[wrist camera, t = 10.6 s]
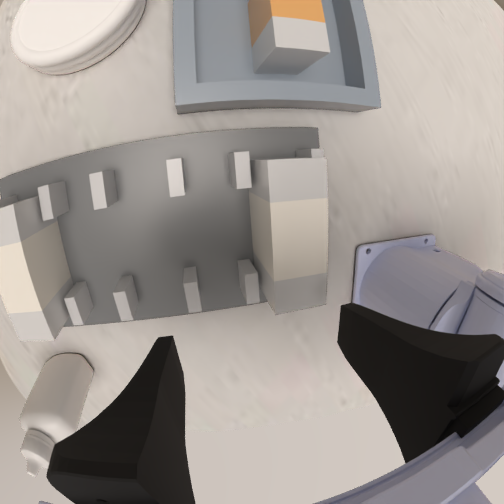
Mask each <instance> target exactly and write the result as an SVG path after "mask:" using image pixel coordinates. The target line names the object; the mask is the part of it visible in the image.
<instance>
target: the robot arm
mask: <svg viewBox="0 0 504 504" xmlns="http://www.w3.org/2000/svg"><path fill="white" fill-rule="evenodd" d="M435 240H436V238H435V236H434V235H433V234H428V235H422V236H416V237H409V238H403V239H397V240H390V241H384V242H378V243H371V244H365V245H360V246H359V247H358V248H357V250H356V264H355V278H354V290H353V301H352V303H349V304H345V305H341V311H340V322H339V332H338V341H337V343H338V345H339V347H340V349H341V350H342V352H343V354H344V356H345V358H346V359H347V361H348V362H349V364H350V365H351V366H352V368H353V369H354V370H355V372H356V373H357V374H358V376H359V377H360V378H361V380H362V381H363V382H364V383H365V385H366V386H367V387H368V389H369V390H370V391H371V393H372V394H373V396H374V397H375V399H376V400H377V402H378V404H379V406H380V407H381V409H382V411H383V413H384V414H385V416H386V418H387V420H388V422H389V424H390V426H391V428H392V431H393V433H394V435H395V437H396V440H397V442H398V444H399V447H400V449H401V452H402V455H403V457H404V460H405V463H406V464H404V465H403V466H401V467H399V468H397V469H395V470H394V471H391V472H390V473H387V474H385V475H384V476H381V477H379V478H377V479H375V480H373V481H371V482H369V483H367V484H364V485H362V486H360V487H357V488H355V489H353V490H350V491H347V492H345V493H342V494H340V495H337V496H334V497H332V498H329V499H326V500H323V501H320V502H317V503H314V504H491V503H490V501H489V500H488V499H487V498H486V496H485V495H484V494H483V492H482V491H481V490H480V489H479V487H478V486H477V485H476V484H475V482H476V481H477V480H478V479H479V478H480V477H481V476H482V475H484V474H485V473H486V472H487V471H488V470H489V469H490V468H491V467H492V466H493V465H494V464H495V463H496V462H497V461H498V460H499V459H500V458H501V457H502V456H503V455H504V274H501V273H499V272H496V271H493V270H486V271H484V272H483V271H482V270H481V269H480V268H479V267H478V266H477V265H475V264H474V263H472V262H470V261H468V260H465V259H463V258H461V257H459V256H457V255H455V254H453V253H451V252H448V251H446V250H444V249H442V248H440V247H437V246H435ZM424 241H425V242H424ZM367 249H369V250H368V252H367V253H366V250H367ZM47 479H48V481H49V482H50V484H51V485H52V486H53V487H55V489H57V490H58V491H59V492H60V493H62V494H63V495H64V496H66V497H67V498H68V499H69V500H71V501H72V502H74V503H75V504H195V499H194V495H193V491H192V485H191V480H190V474H189V468H188V461H187V454H186V446H185V384H184V374H183V370H182V367H181V363H180V360H179V356H178V353H177V349H176V345H175V342H174V338H173V336H166V337H158V339H157V340H156V342H155V343H154V345H153V347H152V348H151V350H150V352H149V354H148V355H147V357H146V359H145V360H144V362H143V363H142V365H141V366H140V368H139V369H138V371H137V372H136V374H135V375H134V377H133V378H132V379H131V381H130V382H129V383H128V385H127V386H126V387H125V389H124V390H123V391H122V392H121V393H120V395H119V396H118V397H117V398H116V399H115V400H114V401H113V402H112V403H111V404H110V405H109V406H108V407H107V408H106V409H105V410H103V411H102V412H101V413H100V414H99V415H98V416H97V417H96V418H94V419H93V420H92V421H91V422H89V423H88V424H87V425H85V426H84V427H82V428H81V429H80V430H78V431H77V432H75V433H73V434H72V435H70V436H68V437H66V438H65V439H63V440H61V441H60V442H58V443H56V444H55V445H54V447H53V451H52V454H51V458H50V462H49V466H48V471H47ZM39 504H51V503H48V502H44V501H39Z"/></svg>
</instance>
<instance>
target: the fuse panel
mask: <svg viewBox="0 0 504 504" xmlns="http://www.w3.org/2000/svg"><path fill="white" fill-rule="evenodd" d="M288 157H312V158H324V149H319V136H318V128H308V127H283V128H251V129H234V130H221V131H210V132H200V133H191V134H182V135H175V136H167V137H161V138H154V139H148V140H142V141H136V142H131V143H126V144H121V145H116V146H111V147H106V148H102V149H97V150H93V151H89V152H85V153H81V154H77V155H73V156H69V157H66V158H62V159H59V160H55V161H52V162H48V163H45V164H42V165H39V166H36V167H33V168H30V169H27V170H24V171H21V172H18V173H15V174H12V175H10V176H7V177H4V178H2V179H0V195H1V199H0V208H1V207H3V206H6V205H9V204H12V203H15V202H18V201H21V200H24V199H28V198H31V197H35V196H38V195H39V200H40V206H41V212H42V217H43V221H45V220H49V219H54V218H56V217H57V220H58V225H59V230H60V235H61V239H62V244H63V248H64V252H65V256H66V260H67V264H68V268H69V271H70V275H71V278H72V282H73V285H74V286H73V287H72V289H71V290H70V291H69V292H68V294H67V295H66V296H65V298H64V300H65V303H66V306H67V309H68V312H69V314H70V316H69V318H68V319H67V321H66V323H65V324H64V326H63V327H69V326H83V325H95V324H106V323H117V322H127V321H136V320H145V319H154V318H162V317H170V316H178V315H185V314H193V313H200V312H207V311H214V310H220V309H227V308H233V307H239V306H246V305H252V304H257V303H263V302H268V301H267V299H266V297H265V295H264V293H263V292H262V290H261V288H260V286H259V283H258V272H257V271H256V269H255V267H254V256H253V243H252V229H251V216H250V203H249V189H248V188H252V185H251V172H250V160H253V159H268V158H288Z"/></svg>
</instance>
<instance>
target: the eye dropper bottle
mask: <svg viewBox="0 0 504 504" xmlns="http://www.w3.org/2000/svg"><path fill="white" fill-rule="evenodd" d="M93 374H94V371H93V369H92V368H91V366H90V365H89V364H88V362H87V361H86V360H85V358H84V357H83V356H81V355H79V354H70V353H67V354H60V355H56V356H54V357H52V358H51V359H49V360H48V361H47V362H46V363H45V365H44V366H43V368H42V370H41V372H40V374H39V376H38V378H37V380H36V382H35V384H34V386H33V388H32V390H31V392H30V394H29V397H28V399H27V401H26V404H25V406H24V408H23V410H22V413H21V416H20V425H21V427H22V428H23V429H24V430H25V432H26V435H25V438H24V441H23V444H22V447H21V453H22V455H23V456H24V457H25V458H26V459H27V473H28V474H29V475H31V476H33V477H36V476H37V474H38V472H39V470H40V469H41V468H48V466H49V462H50V458H51V454H52V451H53V447H54V445H55V444H56V443H58V442H60V441H61V440H63V439H65V438H66V437H68V436H70V435H72V434H73V433H75V432H76V430H77V428H78V424H79V421H80V417H81V414H82V410H83V407H84V403H85V400H86V397H87V393H88V390H89V387H90V384H91V381H92V377H93Z"/></svg>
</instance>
